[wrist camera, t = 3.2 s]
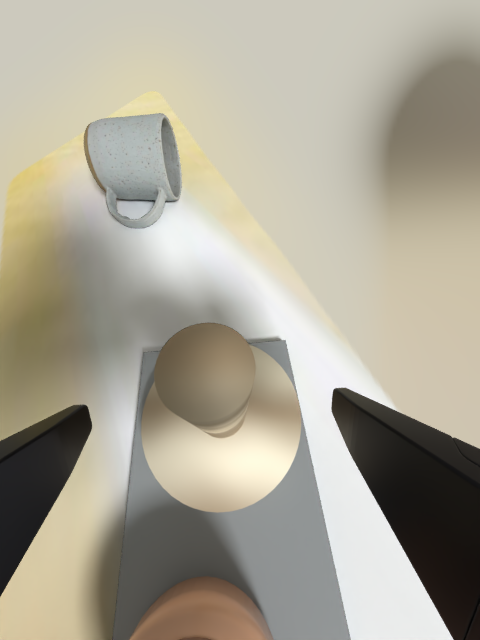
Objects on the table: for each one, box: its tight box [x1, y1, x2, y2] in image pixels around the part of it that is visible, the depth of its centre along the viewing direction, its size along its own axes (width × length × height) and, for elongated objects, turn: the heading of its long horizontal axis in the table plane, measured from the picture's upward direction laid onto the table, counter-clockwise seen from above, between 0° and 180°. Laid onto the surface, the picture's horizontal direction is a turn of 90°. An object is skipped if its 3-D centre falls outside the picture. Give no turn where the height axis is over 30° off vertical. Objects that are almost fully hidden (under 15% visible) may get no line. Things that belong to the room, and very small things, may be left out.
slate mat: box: [112, 340, 351, 640], centre depth 13 cm, size 20×11×1 cm, turn 6°
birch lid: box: [141, 323, 301, 513], centre depth 11 cm, size 10×10×10 cm
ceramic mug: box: [84, 113, 182, 228], centre depth 25 cm, size 11×8×8 cm
